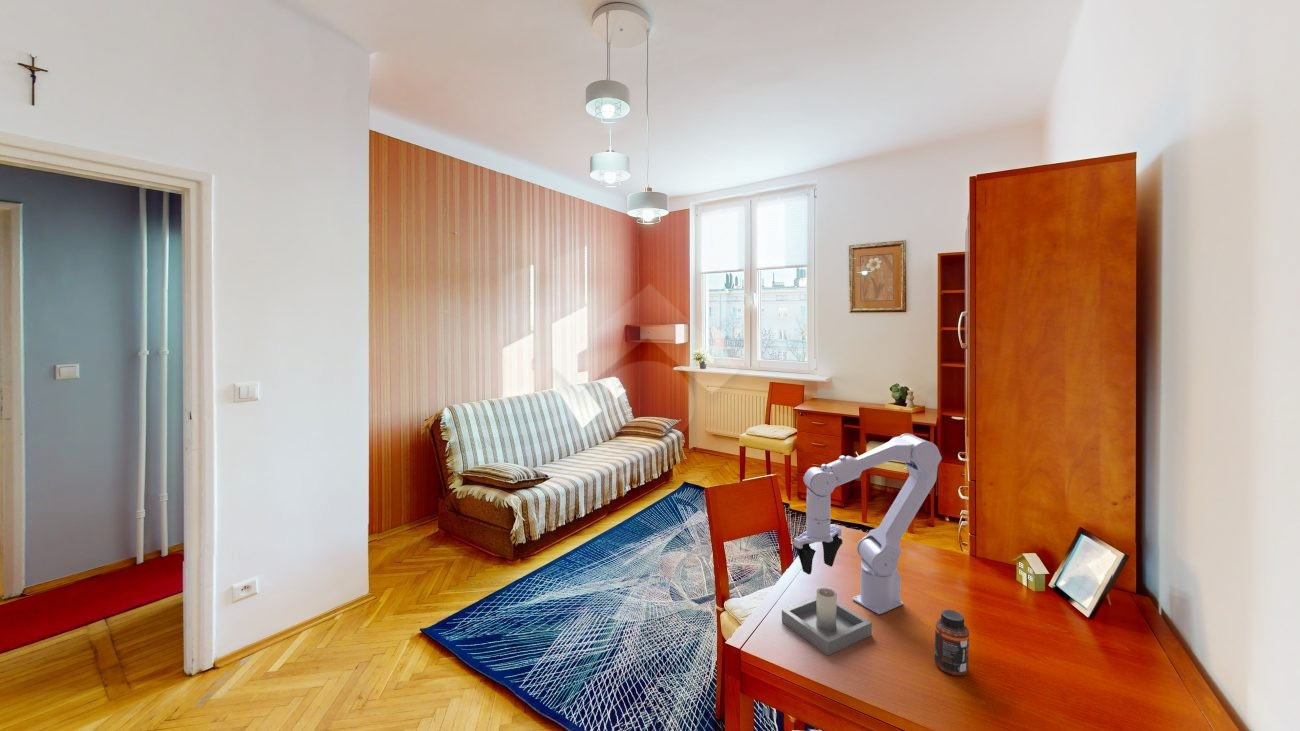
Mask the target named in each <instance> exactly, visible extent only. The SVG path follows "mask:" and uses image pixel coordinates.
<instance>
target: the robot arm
mask: <svg viewBox="0 0 1300 731" xmlns="http://www.w3.org/2000/svg"><path fill="white" fill-rule="evenodd" d="M942 458H943V457H942V455H941V453H940V450H939V448H938V446H937V445H936V444H935V443H934V442H931V441H928V440H926V439H923V438H920V437H918V436H916V435H914V434H912V433H903V434H901V435H900V436H894V437H892V438H891V439H890V440H889V441H887V442H885V443H882V444H881V445H879V446H877V447H875V448H873V449H871V450H868V451H867V452H863V454H861V455H859V456H856V457H854V456H852V455H851V456H850V455H846V456H845V455H840V456H838V459H837V460H834V461H831V462H829V463H827V464H825V463H822V464H821V465H820V467H817V466H812V467H810V468H808V469H807V471H806V472H805V473H804V476H803V477H802V480H803V483H804V485H805V486H806V501H805V502H806V503H805V504H806V510H805V514H806V515H805V516H806V517H805V518H806V522H805V525H806V527H805V528H806V530H805V531H804V532H803V533H801V534H800V535H799V536H797V537H794V538H793V545H792V546H793V547H794V550H795V551H796V553H797V555H798V556H797V557H798V558H799V561H800V565H801V568H802V572H803V573H806V574H807V575H811V574H812V570H813V562H814V561H813V559H814V557H815V554H816V552H817V551H816V550H815V549H814V548H811V546H810V545H811V544H815V543H822V549H823V563H824V564H825V565H827V566H828V567H830V568H831V567H833V566H834V562H835V558H836V556H837V553H838V551H839V549H840V548H841V546H842V544H843V539H842V538H840V537H841V536H842V528H840V527H838V526H836V525H833V526H831V504H832V503H831V501H832V500H831V494H832V493H833V492H834V490H835V488H836V487H839V486H841V485H844V484H846V483H849V482H851V481H853V480H856V479H859V478H860V476H862V472H863V471H865V470H868V469H870V468H873V467H876V466H879V465H883V464H884V463H887V462H891V461H898V462H902V463H905V464H904V465H905V466H906V469H907V472H908V474H909V476H908V477H907V479H906V480H905V483H904V484H903V485H902V487H901V489H900V491H899V492H898V494H897V496H896V497H895V499H894V501H893V502H892V504H891V505H890V506H889V509H888V511H887V512H886V513H885V516H884V517H883V519H882V521H881V522H880V524H879V526H878V527H876V528H873V529H870V530H869V531H868V533H867V534H866V535H865V536H863V537H862V538H861V539H860V540H859V541H858V543H857V546H856V552H857V554H858V555H859V557H861V562H860V590H859V592H860V594H858V595H855V596H853V597H852V600H853V601H855V602H856V603H858V604H860V605H861V606H863V607H865V608H867V609H869V610H870V611H871V612H874V613H875V614H877V615H883V614H884V613H887V612H889V611H891V610H893V609H896V608H897V607H900V606H902V605H904V602H903V601H902V600H901V581H902V580H901V576H900V573H899V570H897V568H898V562H899V558H900V556H901V555H902V549H901V544H900V541H901V539H902V538H903V537H904V534H905V533H906V531H907V530H908V528H909V526H910V525H911V524H912V521H913V520H914V518H915V516H916V514H918V512H919V510H920V509H921V507H922V505H923V503H924V501H925V499H926V498H927V496H928V494H930V492H931V490H932V488H933V487H934V485H935V483H936V482H937V478H938V468H939V465H940V463H941V461H942Z"/></svg>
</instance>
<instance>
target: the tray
mask: <svg viewBox="0 0 1300 731" xmlns="http://www.w3.org/2000/svg"><path fill="white" fill-rule="evenodd" d="M816 597H817V595H816V596H814V597H812V598H808V599H806V600H804V601H801V602H798V603H795V604H794V605H791V606H787V607H786V608H783V609H781V622H782V623H783V624H784V625H785V626H787V627H788V628H790V629H791V630H792V631H794V632H795V633H796V634H798V635H799V636H800V637H802V638H803V639H804V640H806V641H807V642H809V643H810V644H812V645H813V646H814V647H815V648H817V649H818V650H820V651H821V652H822V653H824V654H825V655H826V656H830V655H832V654H835V653H836V652H840V651H841V650H844V649H845V648H847V647H850V646H851V645H854V644H856V643H858V642H860V641H863V640H864V639H866V638H869V637H870V636H872V632H873V631H872V629H873V627H872V626H873V625H872V621H870V620H869V619H866V618H865V617H863V616H861V615H860V614H858V613H856V612H855V611H853V610H852V609H850V608H849V607H846V606H845V605H843V604H841V603H840V602H838V601H837V611H836V629H835V630H834V631H824V630H821V629H820V628H818V627H817V625H816Z"/></svg>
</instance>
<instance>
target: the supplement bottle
mask: <svg viewBox="0 0 1300 731" xmlns="http://www.w3.org/2000/svg"><path fill="white" fill-rule="evenodd" d="M934 627H935V628H934V631H935V632H934V633H935V635H934V663H935V665H936V666H937V667H938V668H939V669H940V670H941V671H943V672H945V673H947V674H949V675H953V676H965V675H966V674H967V673H968V671H969V658H970V657H969V654H970V653H969V652H970V650H969V648H970V630H969V628H968V627H967V626H966V624H965V617H964V615H963V614H962V613H960V612H958V611H956V610H954V609H943V610H941V613H940V618H939V619H937V620H936V622H935V626H934Z"/></svg>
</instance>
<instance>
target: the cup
mask: <svg viewBox="0 0 1300 731" xmlns="http://www.w3.org/2000/svg"><path fill="white" fill-rule="evenodd" d="M837 595H838V593H837V591H835V590H833V589H832V588H828V587H819V588H817V590H816V596H817V597H816V596H815V597H816V625H817V627H818V628H820V629H821V630H824V631H834V630H835V629H836V611H837V602H838V601H837V597H838V596H837Z"/></svg>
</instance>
